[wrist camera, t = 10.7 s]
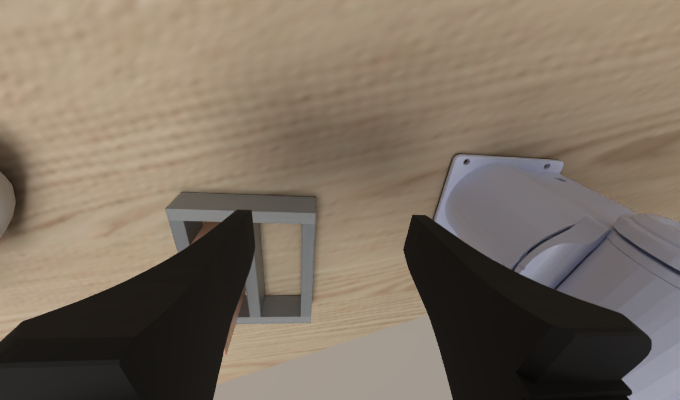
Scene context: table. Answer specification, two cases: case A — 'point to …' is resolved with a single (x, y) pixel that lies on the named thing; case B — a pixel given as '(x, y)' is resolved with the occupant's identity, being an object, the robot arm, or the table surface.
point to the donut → (6, 203)
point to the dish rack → (265, 209)
